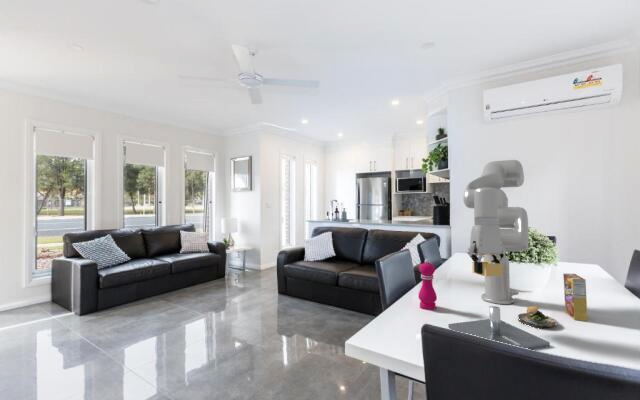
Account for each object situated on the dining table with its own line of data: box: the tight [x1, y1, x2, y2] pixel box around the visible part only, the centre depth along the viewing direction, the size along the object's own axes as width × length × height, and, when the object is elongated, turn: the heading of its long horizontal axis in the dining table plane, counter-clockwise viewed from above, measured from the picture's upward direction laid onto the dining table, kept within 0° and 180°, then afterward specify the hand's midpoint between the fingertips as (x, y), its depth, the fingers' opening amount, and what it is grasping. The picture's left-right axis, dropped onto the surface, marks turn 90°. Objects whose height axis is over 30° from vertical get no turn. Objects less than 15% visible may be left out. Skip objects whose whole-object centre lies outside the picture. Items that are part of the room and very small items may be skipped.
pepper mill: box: [417, 258, 437, 311], centre depth 126 cm, size 7×7×20 cm
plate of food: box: [517, 303, 559, 330], centre depth 108 cm, size 12×12×8 cm
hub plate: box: [448, 305, 551, 350], centre depth 98 cm, size 20×20×9 cm
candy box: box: [563, 273, 588, 322], centre depth 114 cm, size 9×4×15 cm, turn 158°
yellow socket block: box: [471, 260, 502, 277], centre depth 107 cm, size 7×7×5 cm
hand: (487, 272), depth 107 cm, fingers closed on yellow socket block, 6 cm apart
